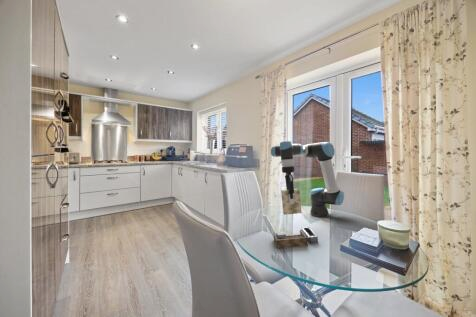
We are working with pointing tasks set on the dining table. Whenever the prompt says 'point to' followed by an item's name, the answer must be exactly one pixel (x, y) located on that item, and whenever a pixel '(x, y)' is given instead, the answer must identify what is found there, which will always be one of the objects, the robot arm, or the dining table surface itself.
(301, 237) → the rack
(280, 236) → the offcut upper
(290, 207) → the beige flat slab
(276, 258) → the dining table surface
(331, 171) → the robot arm
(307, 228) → the stand
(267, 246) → the dining table surface
